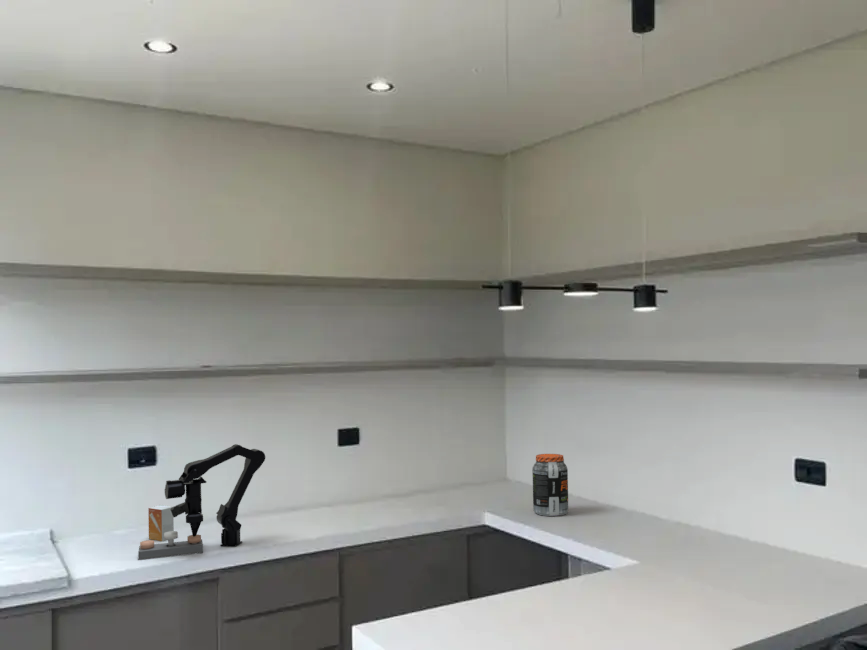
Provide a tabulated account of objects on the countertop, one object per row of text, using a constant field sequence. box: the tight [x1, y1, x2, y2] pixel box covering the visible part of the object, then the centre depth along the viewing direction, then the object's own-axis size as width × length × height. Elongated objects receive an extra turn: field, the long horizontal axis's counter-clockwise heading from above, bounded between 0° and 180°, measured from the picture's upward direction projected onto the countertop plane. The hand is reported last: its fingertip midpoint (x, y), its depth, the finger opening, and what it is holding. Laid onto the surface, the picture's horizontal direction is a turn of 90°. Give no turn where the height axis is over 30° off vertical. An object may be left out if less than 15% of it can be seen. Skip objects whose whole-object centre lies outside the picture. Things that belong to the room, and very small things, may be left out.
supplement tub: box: [532, 453, 569, 517], centre depth 341 cm, size 16×16×26 cm
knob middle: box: [164, 530, 179, 547], centre depth 290 cm, size 5×5×5 cm
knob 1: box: [139, 539, 155, 549], centre depth 287 cm, size 5×5×5 cm
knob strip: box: [137, 538, 204, 561], centre depth 290 cm, size 23×9×3 cm, turn 109°
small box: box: [147, 504, 175, 542], centre depth 312 cm, size 8×6×13 cm
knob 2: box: [186, 534, 202, 544], centre depth 292 cm, size 5×5×5 cm
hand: (194, 536), depth 292 cm, fingers closed, pressing on knob 2
